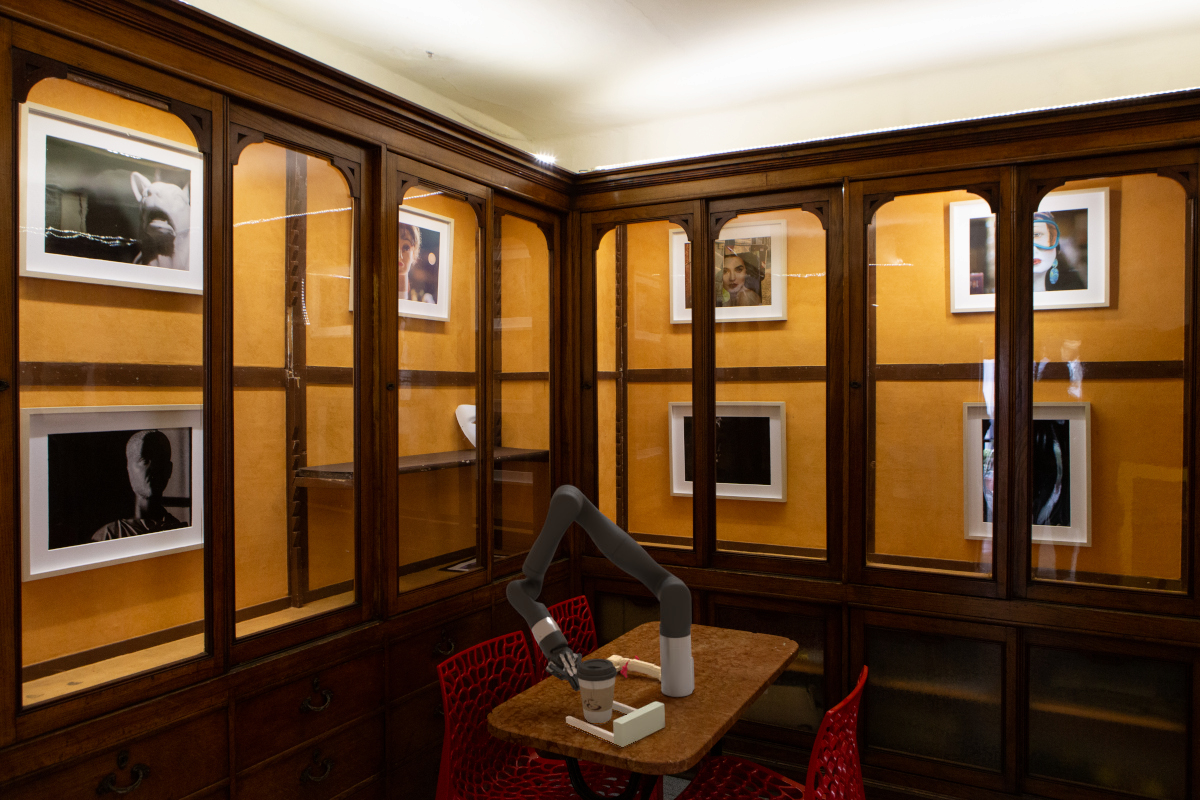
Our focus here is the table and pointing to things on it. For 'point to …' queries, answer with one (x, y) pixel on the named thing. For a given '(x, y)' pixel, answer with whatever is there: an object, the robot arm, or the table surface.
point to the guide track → (628, 723)
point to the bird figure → (635, 666)
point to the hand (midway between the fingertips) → (579, 689)
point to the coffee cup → (597, 689)
